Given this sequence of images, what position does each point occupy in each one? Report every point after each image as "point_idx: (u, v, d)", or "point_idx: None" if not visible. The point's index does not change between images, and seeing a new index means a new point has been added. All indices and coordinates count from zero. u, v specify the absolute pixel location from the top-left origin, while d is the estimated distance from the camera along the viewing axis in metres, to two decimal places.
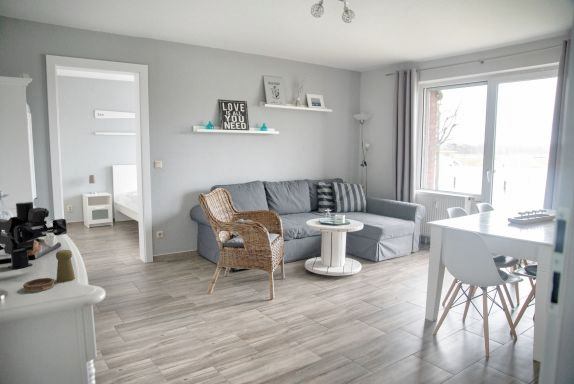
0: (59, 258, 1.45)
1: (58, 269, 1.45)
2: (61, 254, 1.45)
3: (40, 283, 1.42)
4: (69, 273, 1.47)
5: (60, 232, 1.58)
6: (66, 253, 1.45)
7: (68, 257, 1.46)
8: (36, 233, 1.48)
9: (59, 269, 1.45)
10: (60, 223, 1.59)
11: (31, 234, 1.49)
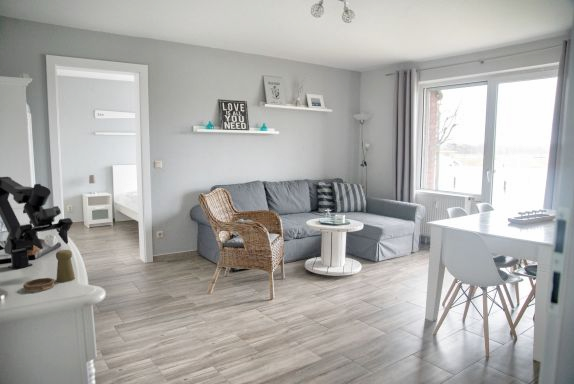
0: (59, 258, 1.45)
1: (58, 269, 1.45)
2: (61, 254, 1.45)
3: (40, 283, 1.42)
4: (69, 273, 1.47)
5: (61, 237, 1.56)
6: (66, 253, 1.45)
7: (68, 257, 1.46)
8: (37, 243, 1.46)
9: (59, 269, 1.45)
10: (65, 228, 1.56)
11: (32, 239, 1.46)
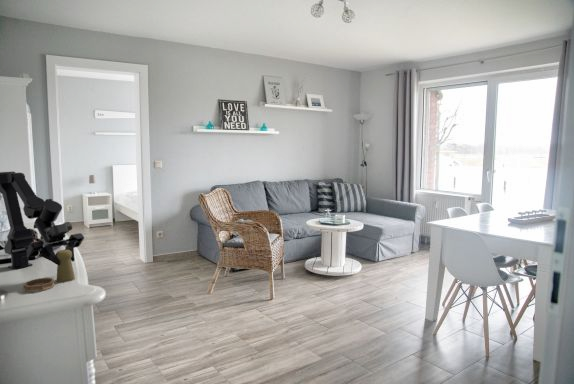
0: (59, 258, 1.45)
1: (58, 269, 1.45)
2: (61, 254, 1.45)
3: (40, 283, 1.42)
4: (69, 273, 1.47)
5: None
6: (66, 253, 1.45)
7: (68, 257, 1.46)
8: (54, 259, 1.44)
9: (59, 269, 1.45)
10: (72, 245, 1.51)
11: (49, 255, 1.45)
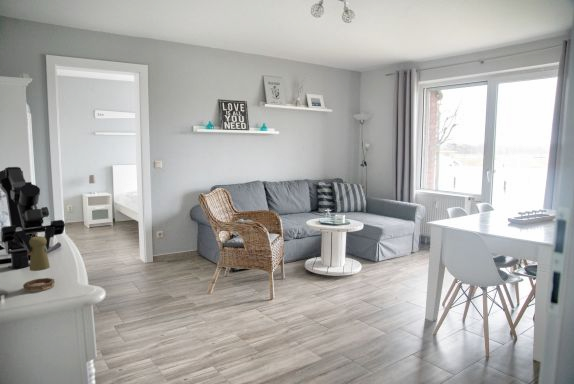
0: (31, 245, 1.36)
1: None
2: (32, 241, 1.36)
3: (40, 283, 1.42)
4: (41, 261, 1.37)
5: None
6: (38, 240, 1.36)
7: (40, 245, 1.37)
8: (25, 246, 1.36)
9: (31, 257, 1.37)
10: (49, 232, 1.42)
11: (23, 241, 1.37)
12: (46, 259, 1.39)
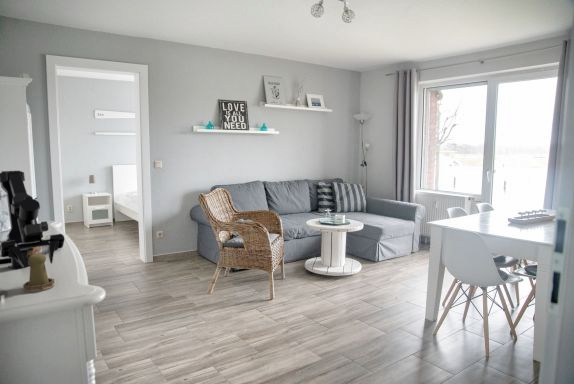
0: (30, 262, 1.36)
1: (30, 274, 1.37)
2: (32, 258, 1.36)
3: None
4: (41, 279, 1.38)
5: (49, 255, 1.43)
6: (37, 258, 1.37)
7: (39, 262, 1.37)
8: (20, 261, 1.35)
9: (31, 274, 1.37)
10: (53, 245, 1.43)
11: None
12: (45, 276, 1.39)
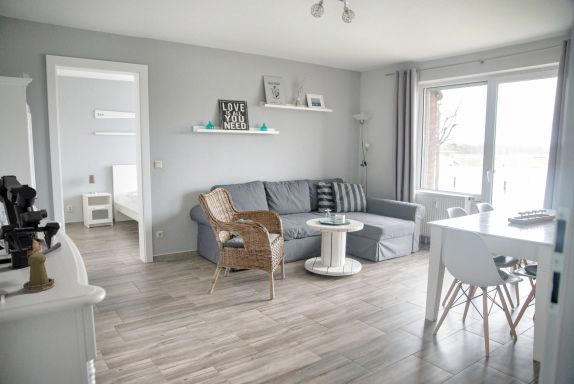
0: (30, 262, 1.36)
1: (30, 274, 1.37)
2: (32, 258, 1.36)
3: None
4: (41, 279, 1.38)
5: (46, 241, 1.51)
6: (37, 258, 1.37)
7: (39, 262, 1.37)
8: (16, 245, 1.42)
9: (31, 274, 1.37)
10: (51, 232, 1.51)
11: (14, 240, 1.43)
12: (45, 276, 1.39)
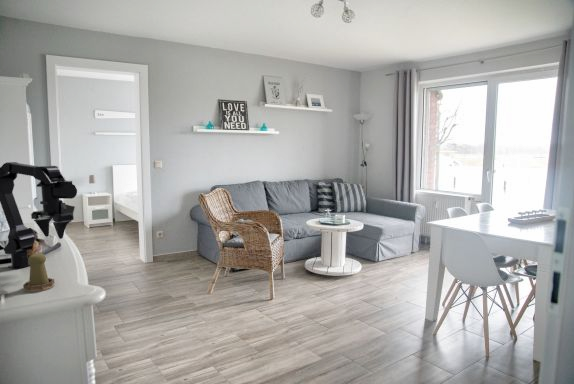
0: (30, 262, 1.36)
1: (30, 274, 1.37)
2: (32, 258, 1.36)
3: None
4: (41, 279, 1.38)
5: (42, 227, 1.60)
6: (37, 258, 1.37)
7: (39, 262, 1.37)
8: (62, 232, 1.56)
9: (31, 274, 1.37)
10: None
11: (61, 226, 1.56)
12: (45, 276, 1.39)
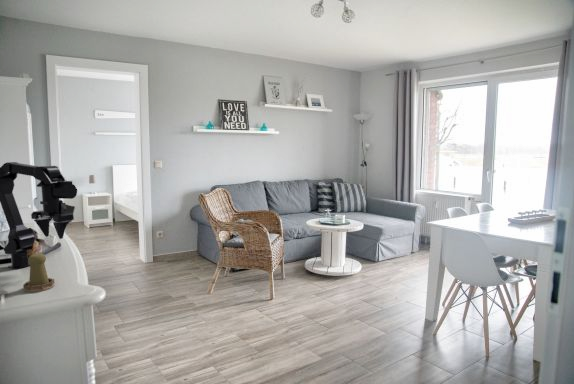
0: (30, 262, 1.36)
1: (30, 274, 1.37)
2: (32, 258, 1.36)
3: None
4: (41, 279, 1.38)
5: (42, 227, 1.60)
6: (37, 258, 1.37)
7: (39, 262, 1.37)
8: (62, 232, 1.57)
9: (31, 274, 1.37)
10: None
11: (61, 227, 1.56)
12: (45, 276, 1.39)
